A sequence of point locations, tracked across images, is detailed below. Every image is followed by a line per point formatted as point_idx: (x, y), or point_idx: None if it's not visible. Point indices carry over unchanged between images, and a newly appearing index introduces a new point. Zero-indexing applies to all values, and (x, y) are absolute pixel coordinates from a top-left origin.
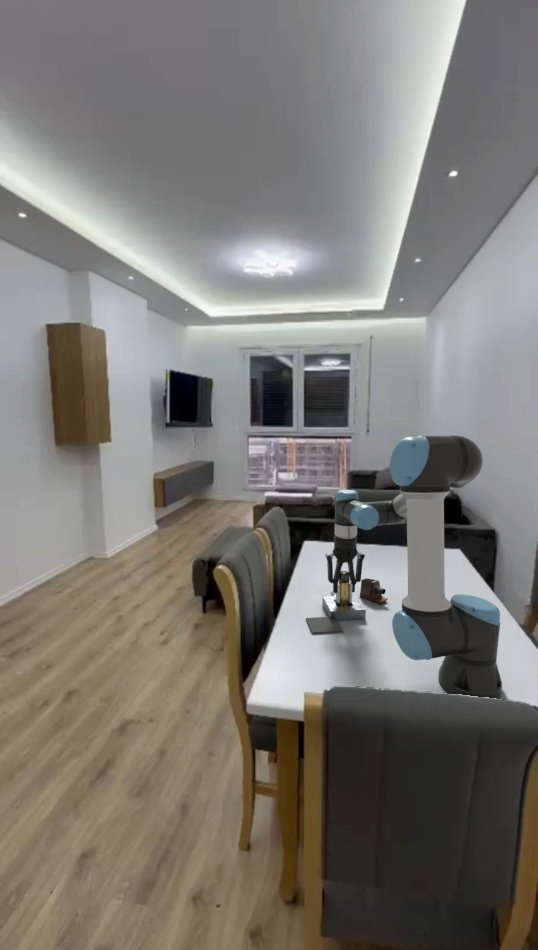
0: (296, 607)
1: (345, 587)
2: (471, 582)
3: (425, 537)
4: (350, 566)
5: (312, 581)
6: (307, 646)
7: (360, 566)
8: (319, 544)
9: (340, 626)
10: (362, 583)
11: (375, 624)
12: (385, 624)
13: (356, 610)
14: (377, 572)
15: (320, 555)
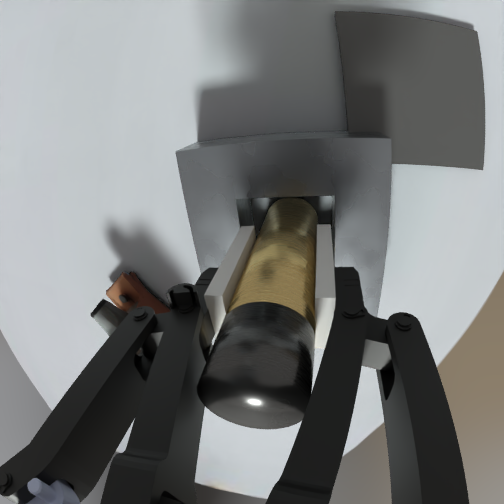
0: (471, 282)
1: (269, 276)
2: (4, 329)
3: None
4: (159, 448)
5: None
6: None
7: (67, 409)
8: (263, 495)
9: (342, 51)
10: None
11: (161, 95)
12: (123, 101)
13: (229, 144)
14: None
15: (271, 481)
